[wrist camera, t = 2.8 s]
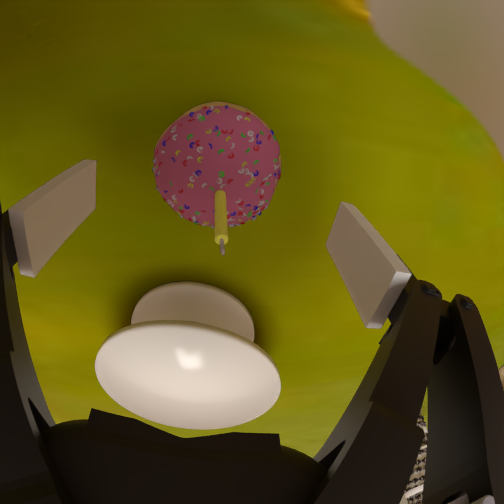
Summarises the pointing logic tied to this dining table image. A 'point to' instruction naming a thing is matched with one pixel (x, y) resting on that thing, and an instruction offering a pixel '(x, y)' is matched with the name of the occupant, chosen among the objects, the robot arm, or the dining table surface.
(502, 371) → the hand bell
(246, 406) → the cake stand
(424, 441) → the decorative candle
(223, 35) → the dining table surface
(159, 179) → the cupcake
